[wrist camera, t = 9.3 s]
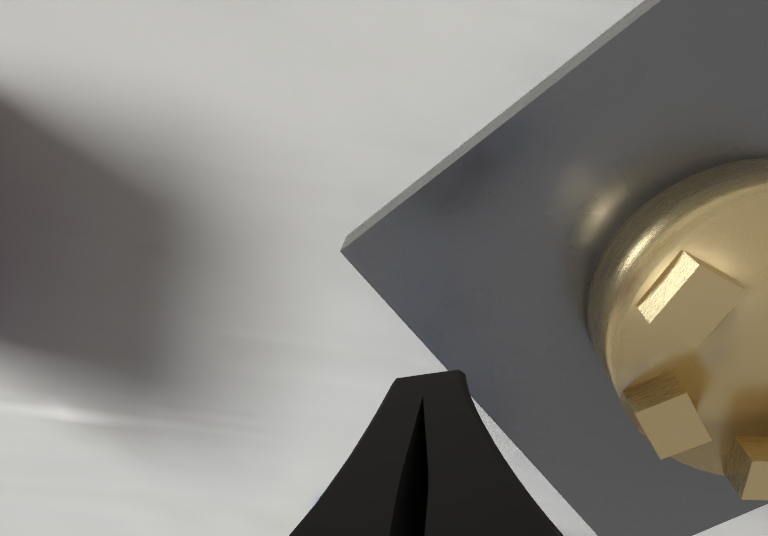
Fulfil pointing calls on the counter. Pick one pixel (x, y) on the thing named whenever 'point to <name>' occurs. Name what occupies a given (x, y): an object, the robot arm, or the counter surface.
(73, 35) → the counter surface
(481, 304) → the plate
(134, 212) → the counter surface
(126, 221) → the counter surface
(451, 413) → the robot arm
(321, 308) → the counter surface
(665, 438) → the tan round handled piece
